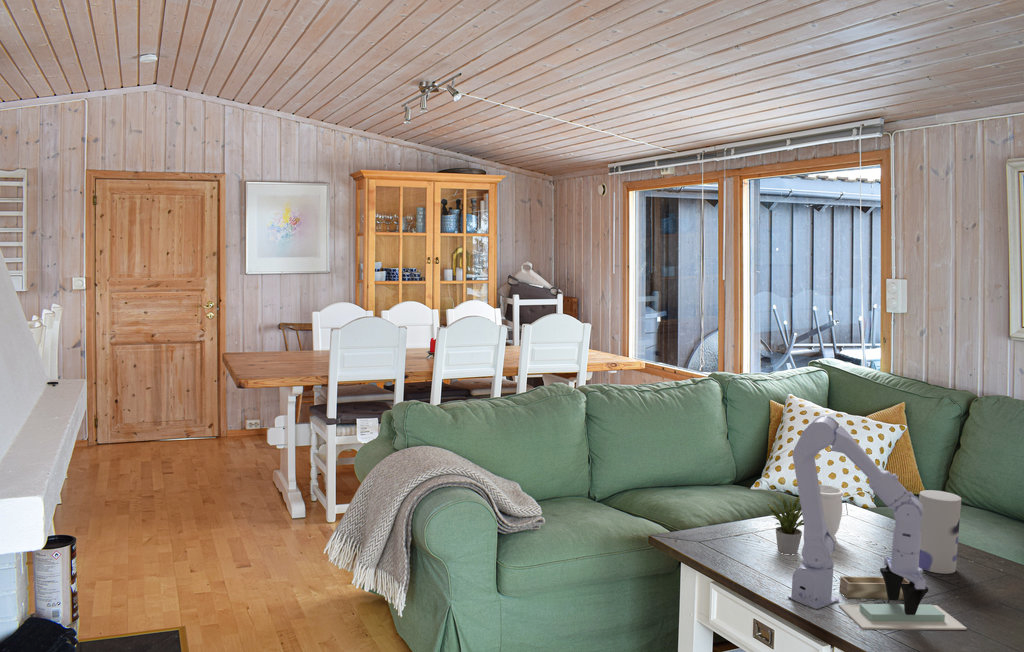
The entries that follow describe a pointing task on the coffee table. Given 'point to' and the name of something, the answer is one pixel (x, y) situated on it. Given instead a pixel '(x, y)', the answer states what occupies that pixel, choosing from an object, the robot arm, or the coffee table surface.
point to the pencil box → (865, 588)
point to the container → (939, 531)
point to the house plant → (788, 527)
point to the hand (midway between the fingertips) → (901, 606)
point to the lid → (901, 613)
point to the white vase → (831, 507)
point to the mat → (867, 624)
